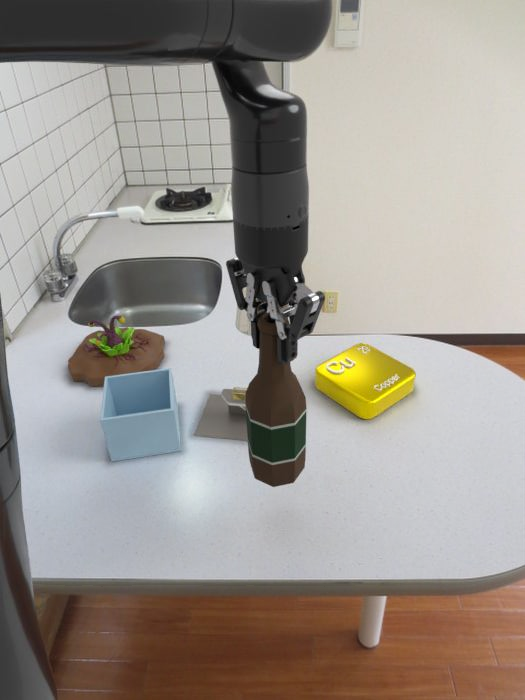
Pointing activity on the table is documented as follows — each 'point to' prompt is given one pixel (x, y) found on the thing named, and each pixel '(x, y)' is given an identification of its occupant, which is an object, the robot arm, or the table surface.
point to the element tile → (364, 380)
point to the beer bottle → (275, 414)
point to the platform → (224, 416)
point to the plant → (115, 353)
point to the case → (140, 414)
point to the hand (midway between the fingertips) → (274, 352)
